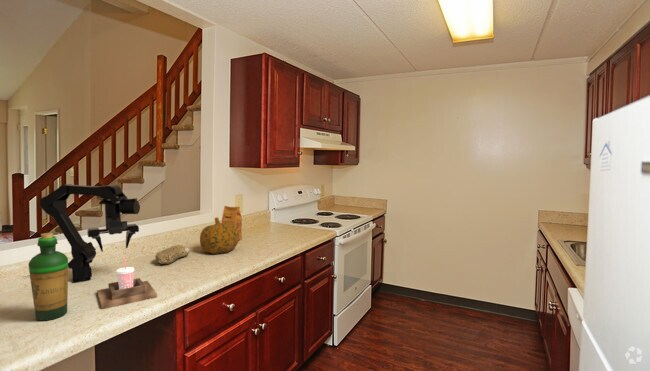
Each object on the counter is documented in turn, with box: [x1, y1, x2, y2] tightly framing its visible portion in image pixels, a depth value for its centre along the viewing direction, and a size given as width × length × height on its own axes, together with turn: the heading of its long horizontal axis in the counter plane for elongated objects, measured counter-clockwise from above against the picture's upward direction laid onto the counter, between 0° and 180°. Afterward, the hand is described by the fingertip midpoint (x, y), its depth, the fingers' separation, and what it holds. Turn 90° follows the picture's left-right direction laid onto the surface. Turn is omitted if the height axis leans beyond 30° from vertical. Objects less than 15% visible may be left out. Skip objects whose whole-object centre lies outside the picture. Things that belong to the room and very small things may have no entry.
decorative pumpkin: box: [199, 216, 240, 255], centre depth 200 cm, size 20×21×20 cm
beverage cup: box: [116, 256, 135, 290], centre depth 137 cm, size 6×6×14 cm
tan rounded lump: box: [154, 244, 191, 265], centre depth 183 cm, size 13×8×20 cm
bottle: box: [28, 232, 69, 321], centre depth 119 cm, size 11×11×28 cm
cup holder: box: [96, 277, 158, 310], centre depth 137 cm, size 18×18×4 cm
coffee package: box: [221, 205, 243, 241], centre depth 227 cm, size 10×12×22 cm
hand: (114, 249), depth 154 cm, fingers open, 9 cm apart
